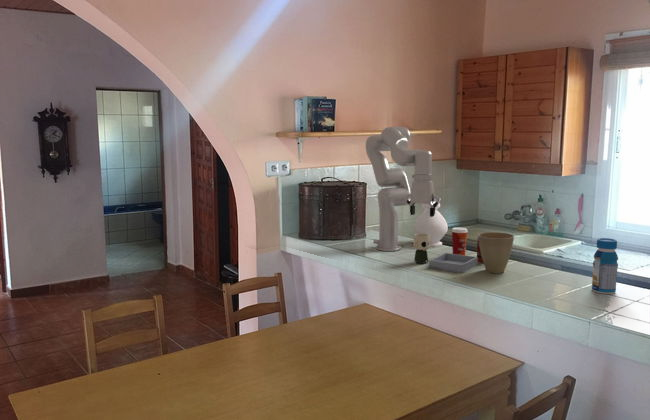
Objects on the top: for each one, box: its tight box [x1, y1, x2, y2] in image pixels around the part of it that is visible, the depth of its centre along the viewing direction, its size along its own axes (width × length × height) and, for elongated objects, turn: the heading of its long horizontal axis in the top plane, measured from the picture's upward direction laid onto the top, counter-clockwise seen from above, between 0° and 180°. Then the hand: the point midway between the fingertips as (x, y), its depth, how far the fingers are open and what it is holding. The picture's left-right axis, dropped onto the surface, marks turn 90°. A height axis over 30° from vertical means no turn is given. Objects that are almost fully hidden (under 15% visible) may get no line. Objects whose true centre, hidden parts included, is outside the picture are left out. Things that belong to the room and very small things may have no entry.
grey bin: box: [428, 252, 479, 274], centre depth 249 cm, size 16×18×4 cm
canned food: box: [476, 238, 483, 263], centre depth 259 cm, size 8×8×11 cm
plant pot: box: [477, 231, 515, 274], centre depth 240 cm, size 15×15×16 cm
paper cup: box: [451, 226, 469, 256], centre depth 266 cm, size 8×8×14 cm
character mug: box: [412, 233, 430, 264], centre depth 256 cm, size 11×7×13 cm, turn 130°
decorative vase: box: [413, 199, 449, 247], centre depth 297 cm, size 18×18×25 cm
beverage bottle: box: [591, 237, 619, 295], centre depth 209 cm, size 8×8×20 cm
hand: (422, 215), depth 254 cm, fingers open, 9 cm apart
